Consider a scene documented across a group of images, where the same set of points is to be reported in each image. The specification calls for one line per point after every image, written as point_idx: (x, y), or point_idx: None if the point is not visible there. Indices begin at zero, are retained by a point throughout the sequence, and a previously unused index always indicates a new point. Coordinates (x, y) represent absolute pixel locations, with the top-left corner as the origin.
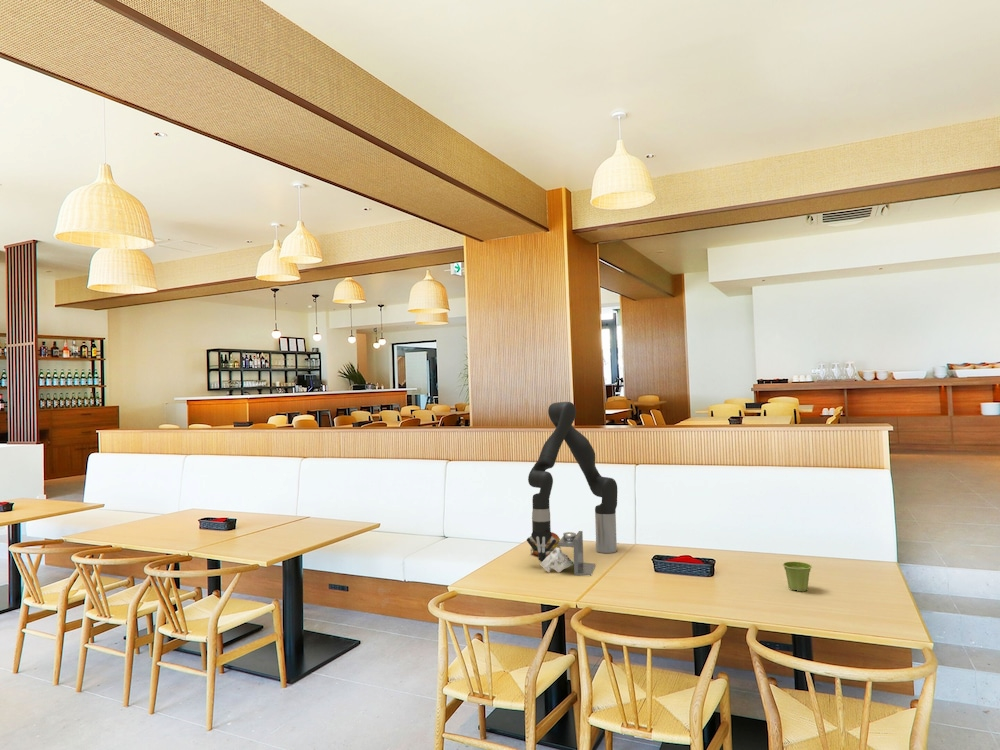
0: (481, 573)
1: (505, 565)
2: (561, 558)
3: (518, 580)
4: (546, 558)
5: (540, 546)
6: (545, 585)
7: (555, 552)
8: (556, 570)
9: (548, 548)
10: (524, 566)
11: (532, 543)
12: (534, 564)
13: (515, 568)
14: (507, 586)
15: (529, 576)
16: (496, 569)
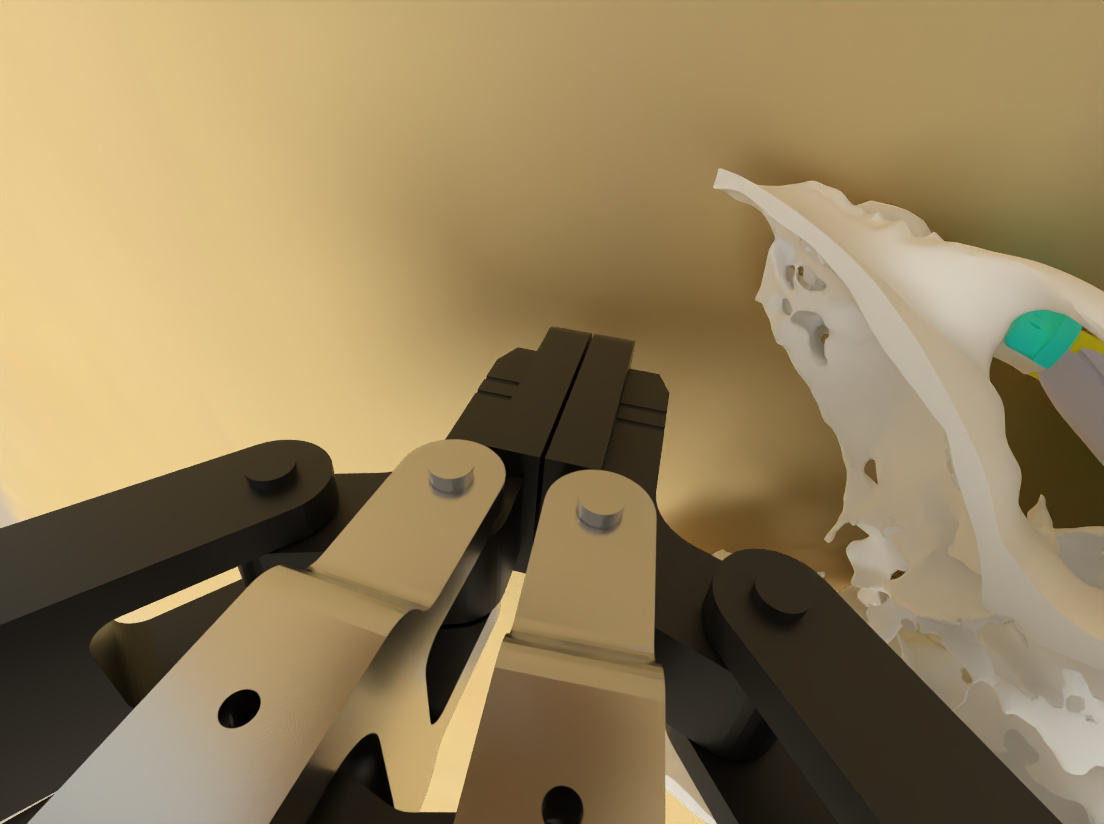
0: (34, 504)
1: (4, 191)
2: (1039, 790)
3: None
4: (674, 774)
5: (429, 747)
6: (665, 821)
7: (997, 691)
8: None
9: (749, 794)
10: (293, 247)
11: (67, 770)
12: (421, 79)
13: (223, 357)
14: None
15: (493, 641)
16: (50, 389)
